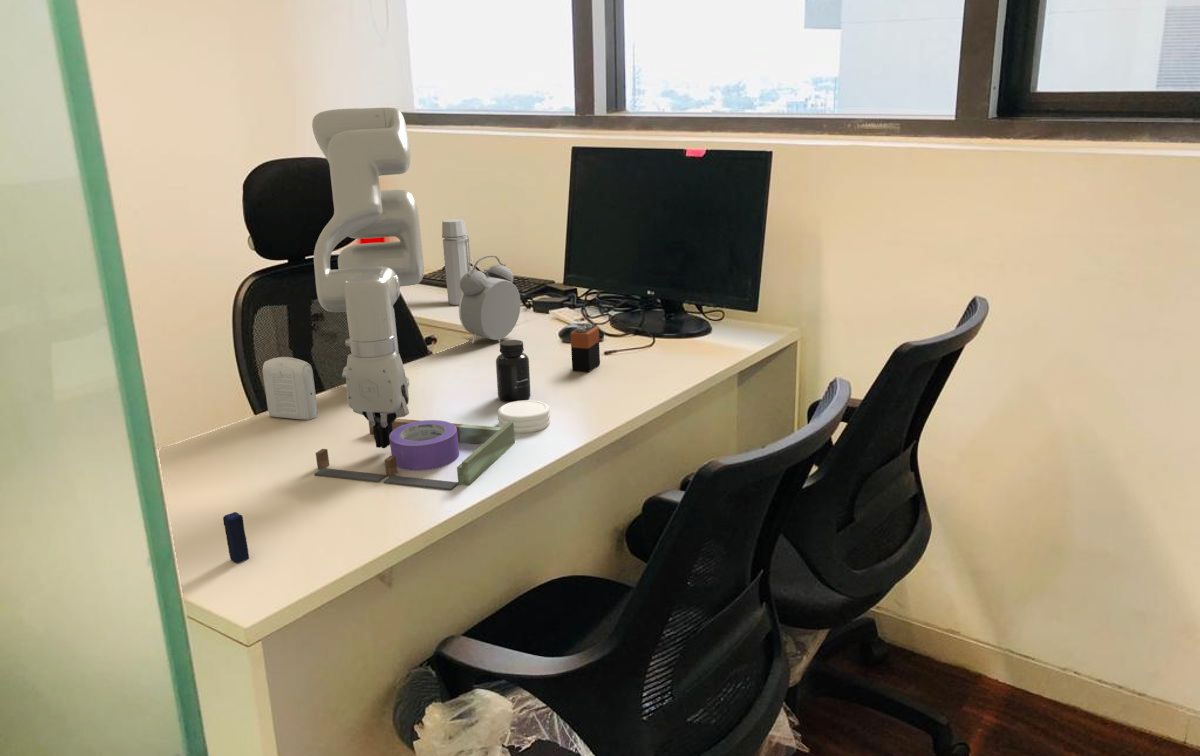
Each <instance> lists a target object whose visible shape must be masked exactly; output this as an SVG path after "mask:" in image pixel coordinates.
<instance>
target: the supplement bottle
mask: <svg viewBox="0 0 1200 756" xmlns="http://www.w3.org/2000/svg"><path fill="white" fill-rule="evenodd" d="M524 351H525V350H524V342H523V340H519V339H508V340H507V339H506V340H502V341H500V342H499V352H500V354H499V355H498V356H497V357H496V358H495V369H496V370H495V371H496V384H497V386H496V387H497V397H498V399H499V400H500V401H501V402H505V403H511V402H515V401H523V400H528V399H530V397H531V377H530V376H531V375H530V359H529V356H528V355H527V354H526V353H524Z"/></svg>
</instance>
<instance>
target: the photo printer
mask: <svg viewBox="0 0 1200 756" xmlns="http://www.w3.org/2000/svg"><path fill="white" fill-rule="evenodd" d="M262 376H263V377H262V378H263V384H264V391H265V397H266V406H267V412H268V415H269V416H270V417H273V418H285V419H295V420H306V421H307V420H309V421H310V419H311V420H313V419H315V418H316V417H317V415H318V414H319V413H318V405H317V395H316V388H315V387H316V386H315V380H314V372H313V367H312V365H311V364H310V363H308V362H307V361H305V360H302V359H299V358H295V357H291V356H290V357H289V356H279V357H278V356H277V357H273V358H270V359H268V360H266V361H264V363H263V365H262Z"/></svg>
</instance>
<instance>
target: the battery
mask: <svg viewBox="0 0 1200 756" xmlns="http://www.w3.org/2000/svg"><path fill="white" fill-rule="evenodd" d="M570 346H571V347H570V349H571V367H572V368H571V369H572V371H573V372H580V371H581V373H582V372H583V373H590V372H591V371H592V370H594V369H595V368H596V367H598V366H600V363H601V356H600V355H601V354H600V352H601V351H600V329H599V327H598V326H594V325H593V326H592V323H590V322H589V323H588V322H587V323H584V325H579V326H577V327H576V329H574V330H573V331H571V332H570Z"/></svg>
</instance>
